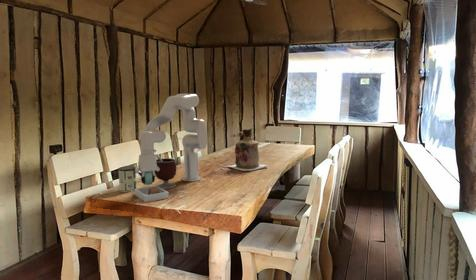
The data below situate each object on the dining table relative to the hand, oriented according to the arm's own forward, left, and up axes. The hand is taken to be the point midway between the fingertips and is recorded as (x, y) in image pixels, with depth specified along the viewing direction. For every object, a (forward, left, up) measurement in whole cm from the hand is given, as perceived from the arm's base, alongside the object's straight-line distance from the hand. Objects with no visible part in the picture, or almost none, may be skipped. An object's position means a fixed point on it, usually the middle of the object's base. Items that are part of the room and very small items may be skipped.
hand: (148, 182), depth 218 cm
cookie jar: (-31, +93, -8) cm, 99 cm away
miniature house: (-18, -7, -8) cm, 21 cm away
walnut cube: (+8, 0, -7) cm, 11 cm away
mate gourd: (-14, +16, -8) cm, 23 cm away
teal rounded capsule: (0, 0, -1) cm, 1 cm away
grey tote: (+4, 0, -8) cm, 9 cm away
